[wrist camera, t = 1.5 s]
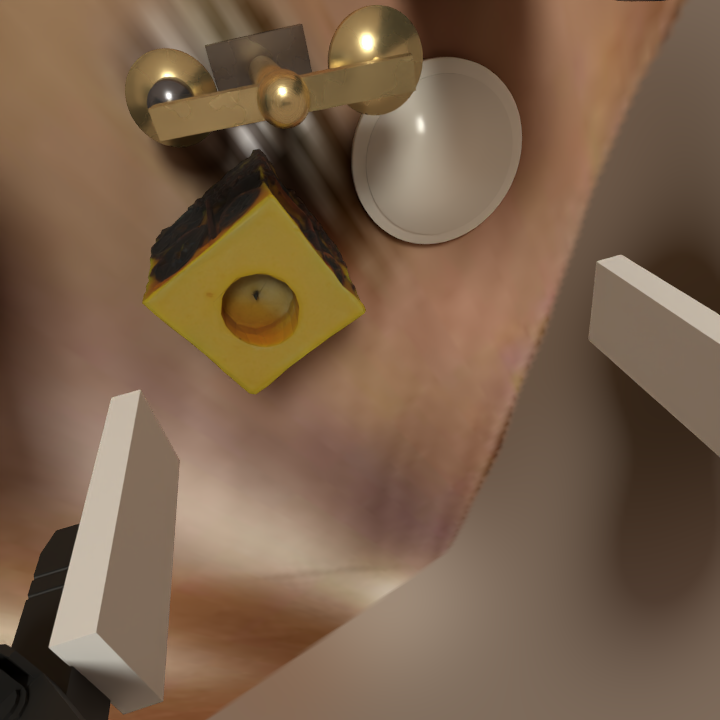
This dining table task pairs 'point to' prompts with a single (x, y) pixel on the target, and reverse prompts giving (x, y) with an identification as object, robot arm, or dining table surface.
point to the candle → (250, 277)
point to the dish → (439, 154)
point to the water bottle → (640, 0)
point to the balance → (276, 78)
